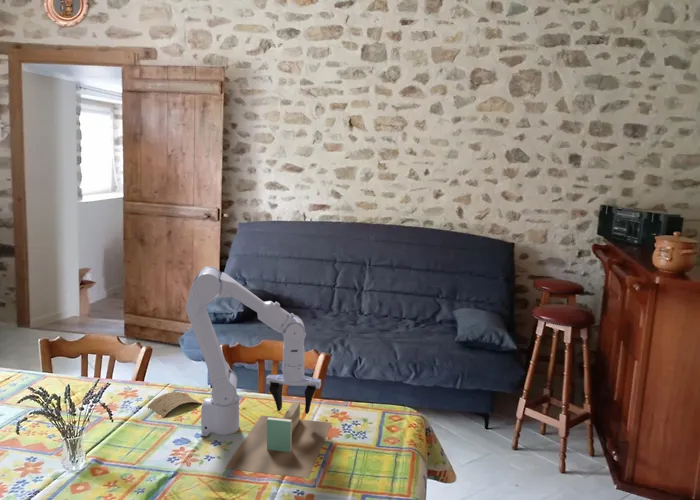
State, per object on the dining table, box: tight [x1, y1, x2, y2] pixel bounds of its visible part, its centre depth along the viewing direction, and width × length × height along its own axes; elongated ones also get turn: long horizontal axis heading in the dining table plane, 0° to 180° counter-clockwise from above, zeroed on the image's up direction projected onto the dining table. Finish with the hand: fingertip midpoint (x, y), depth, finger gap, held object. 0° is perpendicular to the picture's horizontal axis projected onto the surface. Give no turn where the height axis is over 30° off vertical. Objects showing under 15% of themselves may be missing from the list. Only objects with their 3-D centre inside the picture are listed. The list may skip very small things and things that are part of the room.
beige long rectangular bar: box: [282, 401, 301, 433], centre depth 162 cm, size 2×11×5 cm, turn 171°
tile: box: [267, 417, 292, 452], centre depth 151 cm, size 6×1×8 cm, turn 81°
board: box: [224, 415, 332, 479], centre depth 154 cm, size 20×28×1 cm
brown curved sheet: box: [147, 391, 201, 418], centre depth 177 cm, size 14×10×3 cm
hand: (293, 410), depth 164 cm, fingers open, 7 cm apart
